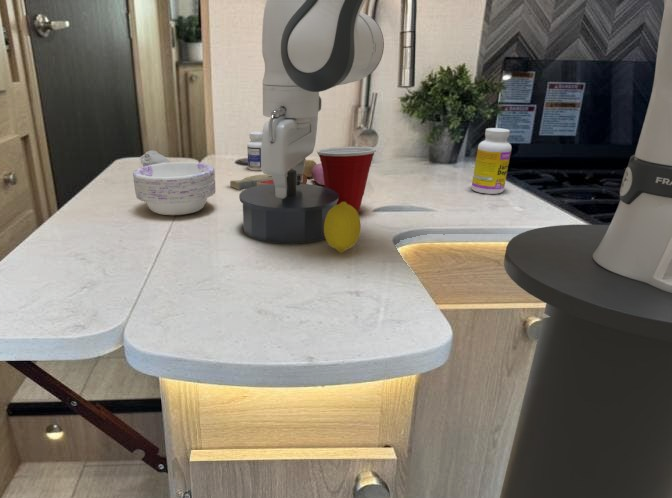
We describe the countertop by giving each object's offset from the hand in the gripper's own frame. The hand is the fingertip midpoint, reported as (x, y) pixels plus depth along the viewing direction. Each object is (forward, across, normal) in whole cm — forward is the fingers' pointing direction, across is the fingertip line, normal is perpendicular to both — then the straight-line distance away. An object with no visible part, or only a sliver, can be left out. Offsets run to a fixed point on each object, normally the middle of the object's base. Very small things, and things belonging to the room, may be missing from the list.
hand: (289, 190), depth 92 cm
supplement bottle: (+7, +38, -34) cm, 51 cm away
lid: (+1, 0, 0) cm, 1 cm away
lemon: (+7, -9, -11) cm, 16 cm away
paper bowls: (+7, +5, +24) cm, 25 cm away
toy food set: (+7, +32, +8) cm, 34 cm away
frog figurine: (+7, +25, +39) cm, 47 cm away
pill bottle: (+7, +45, +21) cm, 50 cm away
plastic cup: (+7, +13, -7) cm, 16 cm away
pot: (+7, 0, 0) cm, 7 cm away
